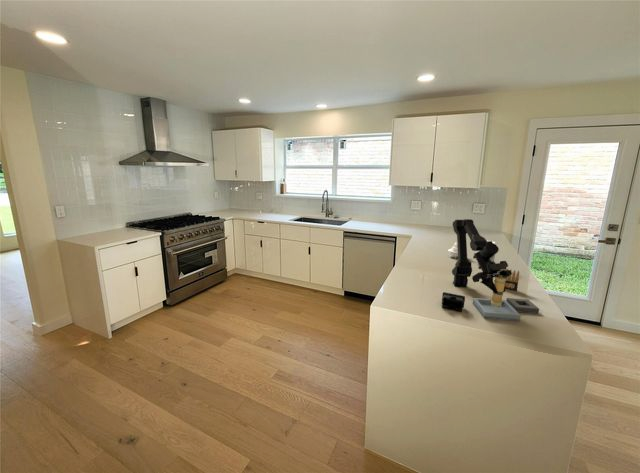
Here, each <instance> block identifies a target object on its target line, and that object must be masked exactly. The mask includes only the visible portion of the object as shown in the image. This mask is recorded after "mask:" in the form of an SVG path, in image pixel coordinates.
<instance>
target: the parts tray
mask: <svg viewBox="0 0 640 473" xmlns="http://www.w3.org/2000/svg"><path fill="white" fill-rule="evenodd" d="M491 300H492V298H491V299H489V298H477V297H472V305H473V306H474V307H475V309H476V311H478V312H479V314H480V315H481V316H482V318H483V319H487V320H488V319H489V320H498V321H499V320H501V321H511V322H521V316H522V315H521V314H520V312H517V311H516V310H515V309H514V308H513V307H512V306H511V305H510V304H509V303H508V302H507V301H506V300H503V299H502V303H501V307H494V306H492V305H491Z"/></svg>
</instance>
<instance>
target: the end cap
mask: <svg viewBox="0 0 640 473" xmlns="http://www.w3.org/2000/svg"><path fill="white" fill-rule="evenodd" d="M465 301H466V296H465V295H460V294H455V293H451V292H446V291H443V292H442V297H441V309H443V310H447V311H451V312H457V313H463V309H464V308H465Z"/></svg>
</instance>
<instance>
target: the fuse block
mask: <svg viewBox="0 0 640 473" xmlns="http://www.w3.org/2000/svg"><path fill="white" fill-rule="evenodd" d="M506 301H507V302H508V303H509V304H510V305H511V306H512V307H513V308H514V309H515V310H516V311H517V312H518V313H528V314H539V312H540V308H539V307H538V306H537V305H536V304H534V303H533V302H532V301H531V300H530V299H526V298H525V299H524V298H516V297H515V298H512V297H506Z"/></svg>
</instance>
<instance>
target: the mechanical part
mask: <svg viewBox="0 0 640 473" xmlns="http://www.w3.org/2000/svg"><path fill="white" fill-rule="evenodd" d="M448 253H450V255H451V256H450V257H451V258H453V257H454V258H456V257H457V258H458V246H457V241H455V242H454V244H453V245H452V246H451V248H449V249H448Z"/></svg>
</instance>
